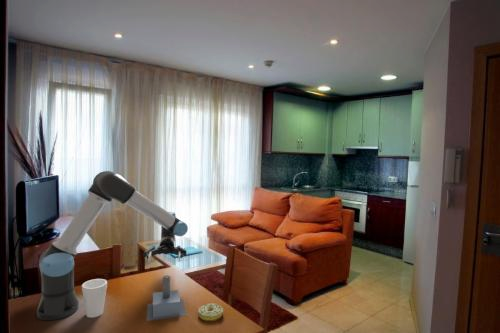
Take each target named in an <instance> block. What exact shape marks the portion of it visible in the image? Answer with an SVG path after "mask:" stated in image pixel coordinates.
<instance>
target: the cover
mask: <svg viewBox="0 0 500 333" xmlns="http://www.w3.org/2000/svg"><path fill="white" fill-rule="evenodd" d="M180 300H181V297H180V292H179V289H176V290H171V275H164V276H162V291H158V292H152V303H153V318H157V317H165V316H172V315H180Z"/></svg>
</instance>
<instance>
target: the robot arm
mask: <svg viewBox="0 0 500 333" xmlns="http://www.w3.org/2000/svg"><path fill="white" fill-rule="evenodd" d="M87 193H88V196H87V198H86V199H85V201H84V202H83V204H82V205H81V206H80V208H79V209H78V211H77V212H76V214H75V216H73V218H72V220H71V221H70V223H69V224H68V225H67V227H66V229H65V230H64V231H63V232H62V235H61V236H60V238H59V239H58V240H55V241H52V243H51V244H50V245H49V247H48V248H47V249H45V251H43V253H41V255H40V257H39V260H38V267H39V271H40V276H41V298H40V301H39V304H38V307H37V310H36V316H37V318H38V319H39V320H41V321H55V320H60V319H64V318H66V317H69V316H71V315H73V314H74V313H76V312H77V311H78V310H79V306H80V305H79V304H80V303H79V299H78V297H77V294H76V292H75V269H74V268H75V260H74V259H75V257H76V256H77V254H78V250H77V249H78V247H79V245H80V243H81V242H82V241H83V239H84V237H85V236H86V234H87V233H88V231H89V230H90V228H91V227H92V225H93V223H94V222H95V221H96V219H97V218H98V216H99V215H100V213H101V212H102V210H103V209H104V207H105V205H107V204H110V203H111V202H112V201H113V200H114V201H117V202H119V203H120V204H122V205H128V206H130V207H131V209H132V208H133V209H134V210H135V211H137V212H139V213H140V214H142V215H144V216H145V217H147V218H148V219H149V220H151V221H154V222H155V223H156V224H158V225H159V226H161V228H160V230H161V231H160V241H159V242H160V243H159V246H158V247H156V246H155V245H152V247H150V248H148V249H146V250H145V251H143V257H144V258H146V259H147V263H151V260H152V257H155V256H156V255H169V254H171V255H176V256H178V262H181V258H183V257H187V251H188V250H186V249H185V248H183V247H181V245H177V246H175V241H176V237H183V236H185V235H186V234H187V232H188V227H189V226H188V225H187V223H186V222H184V221H183V220H180V219H179V218H177V216H176V213H175V212H174V211H167V210H165V209H164V208H163V207H161V206H160V205H158V204H157V203H156V202H154V201H153V200H151V199H150V198H148V197H146V195H143V194H142V193H140V191H138V190H137V187H135V186H134V185H133V184H132V183H130V182H129V181H128V180H127V179H125V177H123V176H122V175H121V174H119V173H116V172H113V171H111V170H105V171H104V170H103V171H101V172H98V173H97V174H96V175H95V176H94V178H93V181H92V184H91V186H90V187H89V189H88V190H87Z"/></svg>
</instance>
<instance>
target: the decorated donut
mask: <svg viewBox="0 0 500 333" xmlns="http://www.w3.org/2000/svg"><path fill="white" fill-rule="evenodd" d="M197 311H198V312H197V313H198V314H197V315H198V316H199V318H200V319H201V320H203V321H205V322H215V321H218V320H219V319H220V318H222V316H223V314H224V308H223V307H222V306H221V305H219V304H217V303H211V302H208V303H205V304H204V305H201V306H200V307H199V308H198V310H197Z"/></svg>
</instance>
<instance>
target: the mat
mask: <svg viewBox="0 0 500 333" xmlns="http://www.w3.org/2000/svg"><path fill="white" fill-rule="evenodd" d="M178 317H179V318H180V317H187V312H186V306H185V301H184V299H180V315H172V316H165V317H157V318H153V302H152V303H147V304H146V321H147V322H148V321H157V320H164V319H165V320H166V319H171V318H172V319H173V318H178Z"/></svg>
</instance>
